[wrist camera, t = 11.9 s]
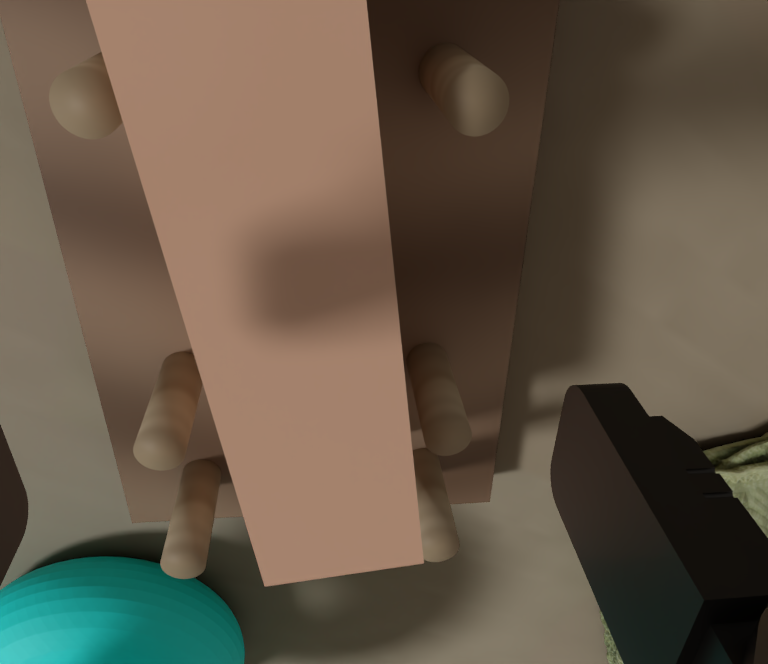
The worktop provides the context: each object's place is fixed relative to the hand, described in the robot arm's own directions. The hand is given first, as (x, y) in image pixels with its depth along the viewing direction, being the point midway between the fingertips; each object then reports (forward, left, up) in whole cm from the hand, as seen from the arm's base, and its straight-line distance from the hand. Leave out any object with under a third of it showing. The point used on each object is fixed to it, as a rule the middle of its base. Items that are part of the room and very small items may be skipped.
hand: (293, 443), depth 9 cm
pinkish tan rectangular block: (0, 0, -8) cm, 8 cm away
